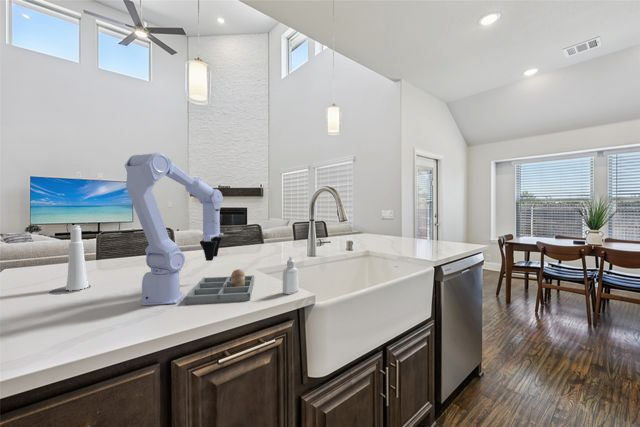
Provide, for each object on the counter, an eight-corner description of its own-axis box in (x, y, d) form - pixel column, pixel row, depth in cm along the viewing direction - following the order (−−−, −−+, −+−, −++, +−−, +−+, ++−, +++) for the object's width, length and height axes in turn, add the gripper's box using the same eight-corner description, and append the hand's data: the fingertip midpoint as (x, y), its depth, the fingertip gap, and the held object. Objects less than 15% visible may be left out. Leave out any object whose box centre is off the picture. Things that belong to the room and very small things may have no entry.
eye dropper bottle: (300, 293, 90) (300, 257, 89) (283, 295, 88) (283, 258, 88) (297, 289, 94) (297, 255, 94) (281, 291, 92) (281, 256, 92)
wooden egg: (230, 291, 90) (230, 271, 90) (232, 287, 95) (232, 268, 94) (244, 290, 91) (244, 270, 91) (245, 286, 95) (245, 267, 95)
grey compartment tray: (185, 304, 80) (185, 296, 80) (203, 283, 101) (203, 277, 101) (250, 300, 83) (249, 293, 83) (254, 281, 104) (254, 275, 104)
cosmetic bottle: (78, 291, 92) (76, 226, 91) (60, 291, 92) (58, 226, 91) (93, 285, 98) (91, 224, 97) (76, 285, 98) (75, 224, 97)
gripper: (219, 222, 94) (219, 262, 94) (226, 220, 108) (226, 254, 108) (197, 223, 92) (197, 262, 93) (207, 220, 107) (207, 255, 107)
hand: (211, 258), depth 100 cm, fingers open, 7 cm apart
